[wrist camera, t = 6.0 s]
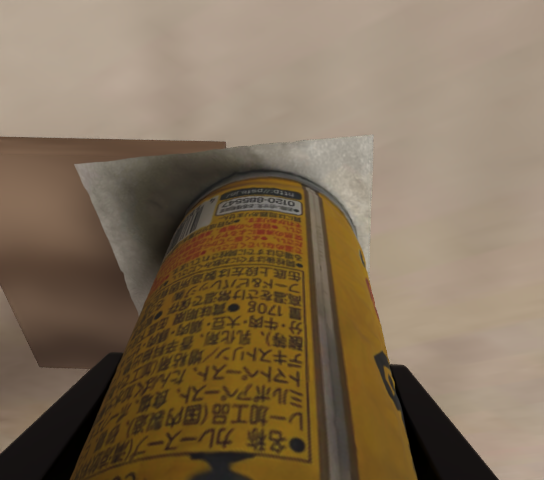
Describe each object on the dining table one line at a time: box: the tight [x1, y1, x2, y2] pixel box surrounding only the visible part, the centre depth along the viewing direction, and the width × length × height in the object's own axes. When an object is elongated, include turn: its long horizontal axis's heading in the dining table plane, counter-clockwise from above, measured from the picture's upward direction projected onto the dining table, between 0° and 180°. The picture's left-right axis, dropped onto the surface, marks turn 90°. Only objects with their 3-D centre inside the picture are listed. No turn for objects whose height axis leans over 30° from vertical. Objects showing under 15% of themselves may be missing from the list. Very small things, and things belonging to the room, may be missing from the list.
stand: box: [0, 137, 226, 369], centre depth 22 cm, size 14×12×2 cm
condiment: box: [70, 135, 418, 480], centre depth 9 cm, size 7×8×12 cm
